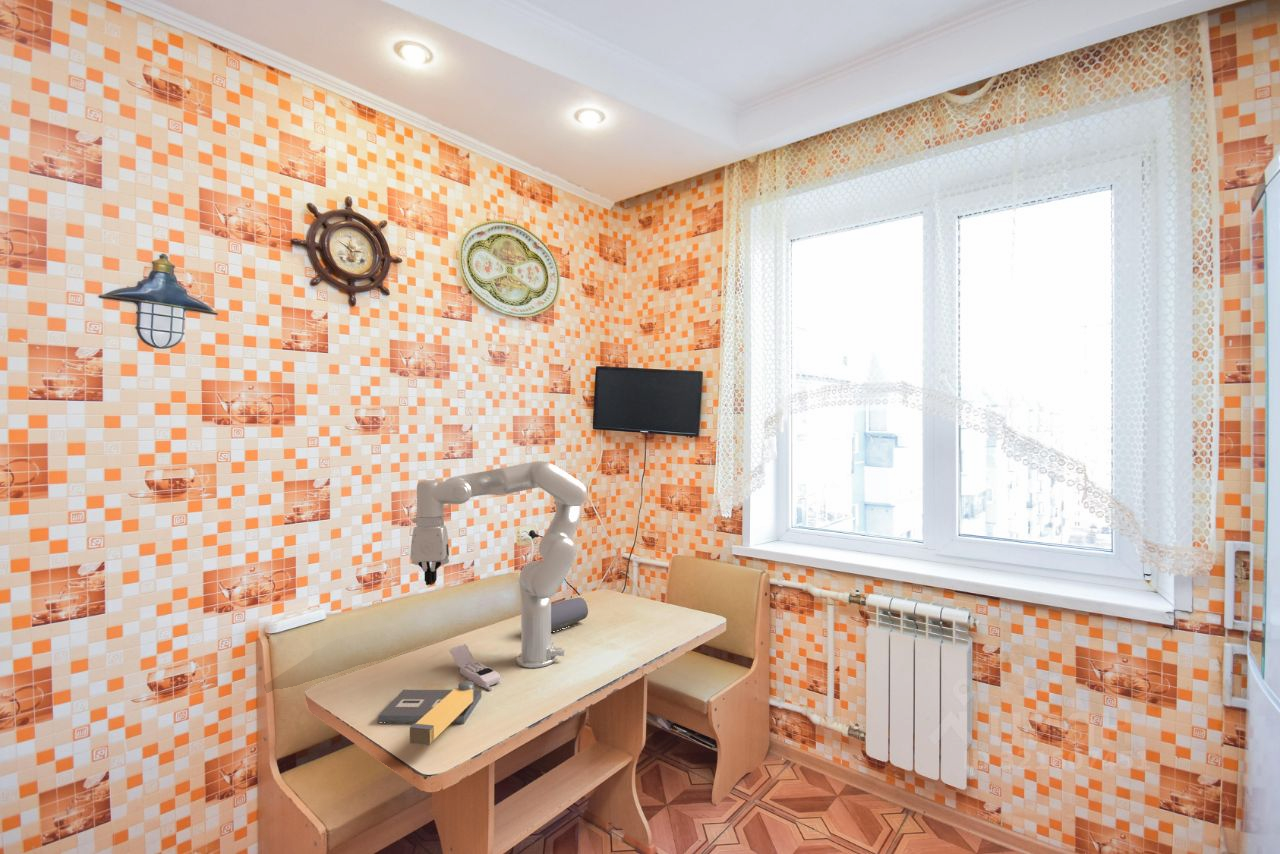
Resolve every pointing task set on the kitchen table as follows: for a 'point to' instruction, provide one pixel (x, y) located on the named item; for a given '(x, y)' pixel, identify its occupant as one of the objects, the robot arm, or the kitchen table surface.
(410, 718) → the plate
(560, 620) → the bluetooth speaker
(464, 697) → the bar
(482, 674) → the mobile phone
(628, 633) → the kitchen table surface
